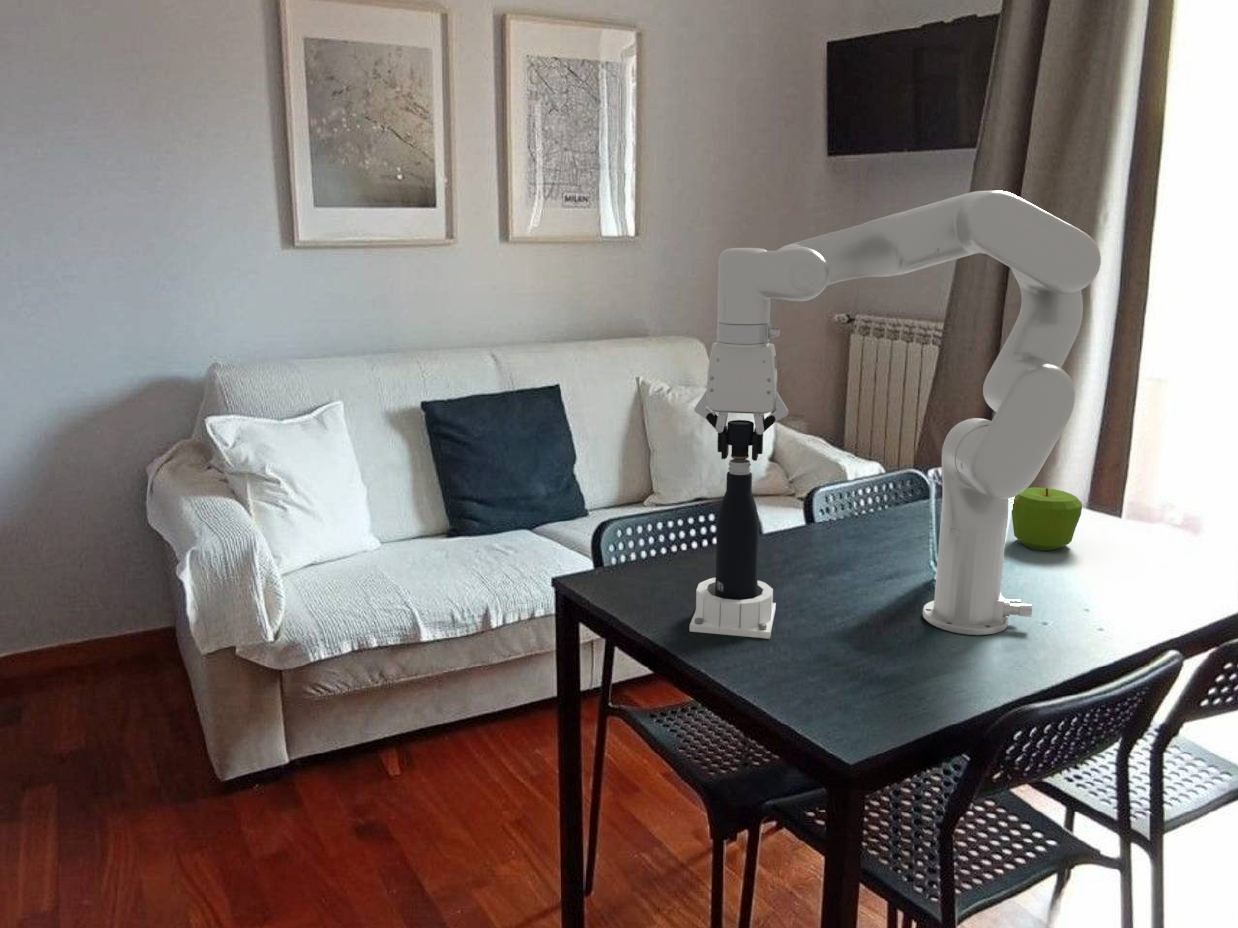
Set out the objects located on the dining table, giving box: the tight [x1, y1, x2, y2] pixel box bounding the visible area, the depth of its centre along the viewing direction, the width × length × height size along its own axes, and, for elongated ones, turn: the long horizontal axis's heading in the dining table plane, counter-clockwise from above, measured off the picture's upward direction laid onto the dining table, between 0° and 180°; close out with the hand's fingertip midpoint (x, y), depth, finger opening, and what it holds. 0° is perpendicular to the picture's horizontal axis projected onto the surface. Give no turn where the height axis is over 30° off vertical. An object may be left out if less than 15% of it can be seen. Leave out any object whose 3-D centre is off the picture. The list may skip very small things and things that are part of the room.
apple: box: [1011, 486, 1083, 551], centre depth 195 cm, size 12×12×11 cm
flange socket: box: [689, 577, 777, 640], centre depth 159 cm, size 12×12×5 cm
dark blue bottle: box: [715, 419, 760, 600], centre depth 156 cm, size 6×6×30 cm
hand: (739, 456), depth 154 cm, fingers closed on dark blue bottle, 3 cm apart
